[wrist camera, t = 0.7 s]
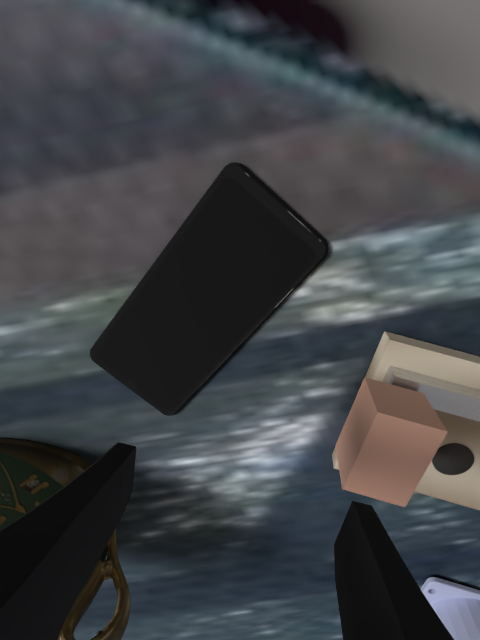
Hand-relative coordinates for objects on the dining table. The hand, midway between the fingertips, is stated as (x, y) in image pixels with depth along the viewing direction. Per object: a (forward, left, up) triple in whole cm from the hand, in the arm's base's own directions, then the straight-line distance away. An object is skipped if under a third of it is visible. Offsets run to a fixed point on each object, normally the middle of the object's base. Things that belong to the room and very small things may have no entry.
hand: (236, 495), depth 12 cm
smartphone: (+2, +4, -11) cm, 12 cm away
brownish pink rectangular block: (-1, -7, -9) cm, 11 cm away
